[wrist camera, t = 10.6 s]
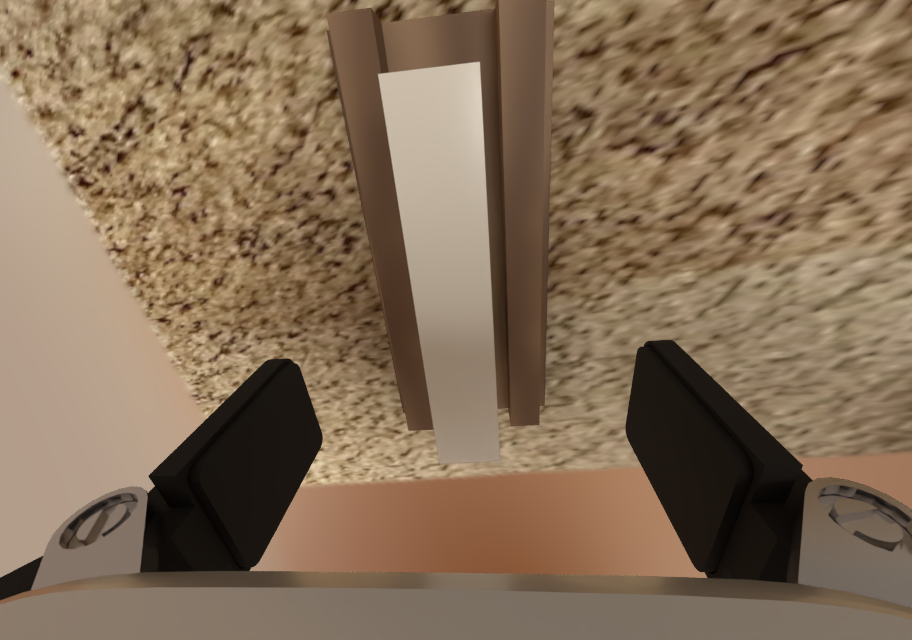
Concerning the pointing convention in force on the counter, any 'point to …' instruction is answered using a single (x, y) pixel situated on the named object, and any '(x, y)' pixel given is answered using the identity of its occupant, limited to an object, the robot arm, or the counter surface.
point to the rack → (507, 178)
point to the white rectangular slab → (447, 248)
